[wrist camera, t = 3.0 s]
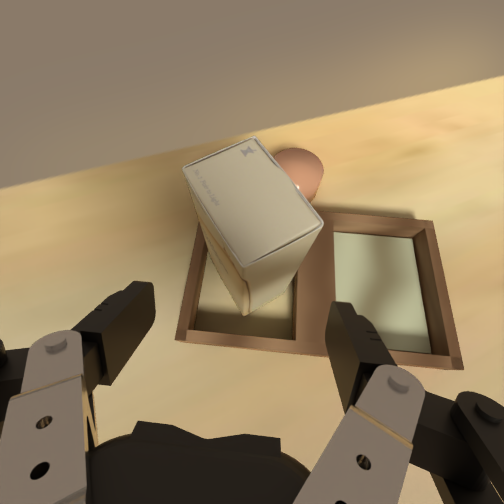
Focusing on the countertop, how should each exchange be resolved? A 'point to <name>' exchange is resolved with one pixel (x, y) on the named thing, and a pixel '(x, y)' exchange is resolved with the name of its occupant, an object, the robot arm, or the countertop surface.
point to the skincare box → (251, 221)
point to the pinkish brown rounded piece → (302, 170)
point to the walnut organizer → (355, 291)
